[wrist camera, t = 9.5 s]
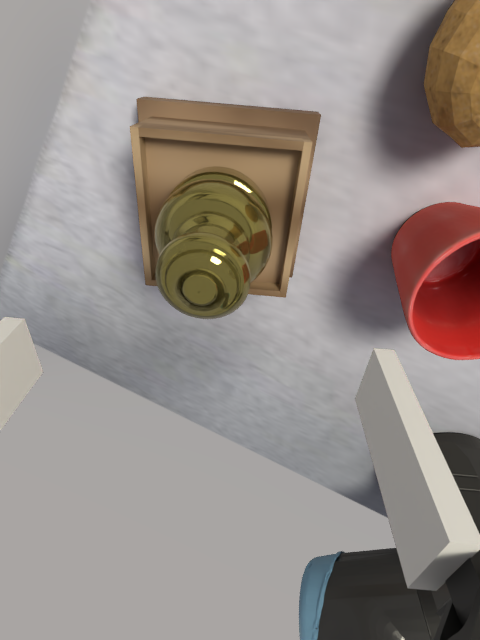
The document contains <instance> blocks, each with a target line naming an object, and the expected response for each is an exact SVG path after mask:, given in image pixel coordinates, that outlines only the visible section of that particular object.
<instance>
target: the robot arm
mask: <svg viewBox="0 0 480 640" xmlns="http://www.w3.org/2000/svg"><path fill="white" fill-rule="evenodd" d="M42 373H43V369H42V366H41V364H40V361H39V358H38V355H37V352H36V350H35V347H34V344H33V341H32V338H31V335H30V333H29V330H28V327H27V324H26V321H25V319H22V318H10V317H4V318H3V319H2V320H1V321H0V431H1V430H2V429H3V427H4V426H5V424H6V423H7V422H8V420H9V419H10V417H11V416H12V415H13V413H14V412H15V411H16V409H17V408H18V406H19V405H20V404H21V402H22V401H23V400H24V398H25V397H26V395H27V394H28V393H29V391H30V390H31V388H32V387H33V386H34V384H35V383H36V381H37V380H38V379H39V378H40V376H41V375H42ZM355 400H356V404H357V407H358V411H359V415H360V418H361V422H362V426H363V429H364V433H365V436H366V440H367V444H368V447H369V451H370V454H371V458H372V462H373V465H374V469H375V473H376V476H377V480H378V483H379V487H380V491H381V494H382V498H383V501H384V505H385V509H386V512H387V516H388V519H389V523H390V527H391V530H392V534H393V538H394V541H395V545H396V548H390V549H380V550H370V551H360V552H350V553H345V552H342V551H341V552H338V553H336V554H332V555H326V556H321V557H316V558H314V559H312V560H311V561H310V562H309V563H308V565H307V566H306V569H305V572H304V574H303V577H302V582H301V590H300V600H299V632H300V640H480V439H478V438H476V437H473V436H470V435H466V434H459V433H439V434H433V432H432V430H431V428H430V426H429V424H428V422H427V419H426V417H425V415H424V413H423V411H422V409H421V406H420V404H419V402H418V400H417V398H416V396H415V394H414V391H413V389H412V387H411V385H410V383H409V381H408V378H407V376H406V374H405V372H404V370H403V368H402V365H401V363H400V361H399V359H398V357H397V355H396V353H395V350H389V349H377V348H374V349H373V352H372V354H371V357H370V360H369V362H368V365H367V368H366V371H365V373H364V376H363V379H362V381H361V384H360V387H359V389H358V392H357V395H356V397H355Z"/></svg>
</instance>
